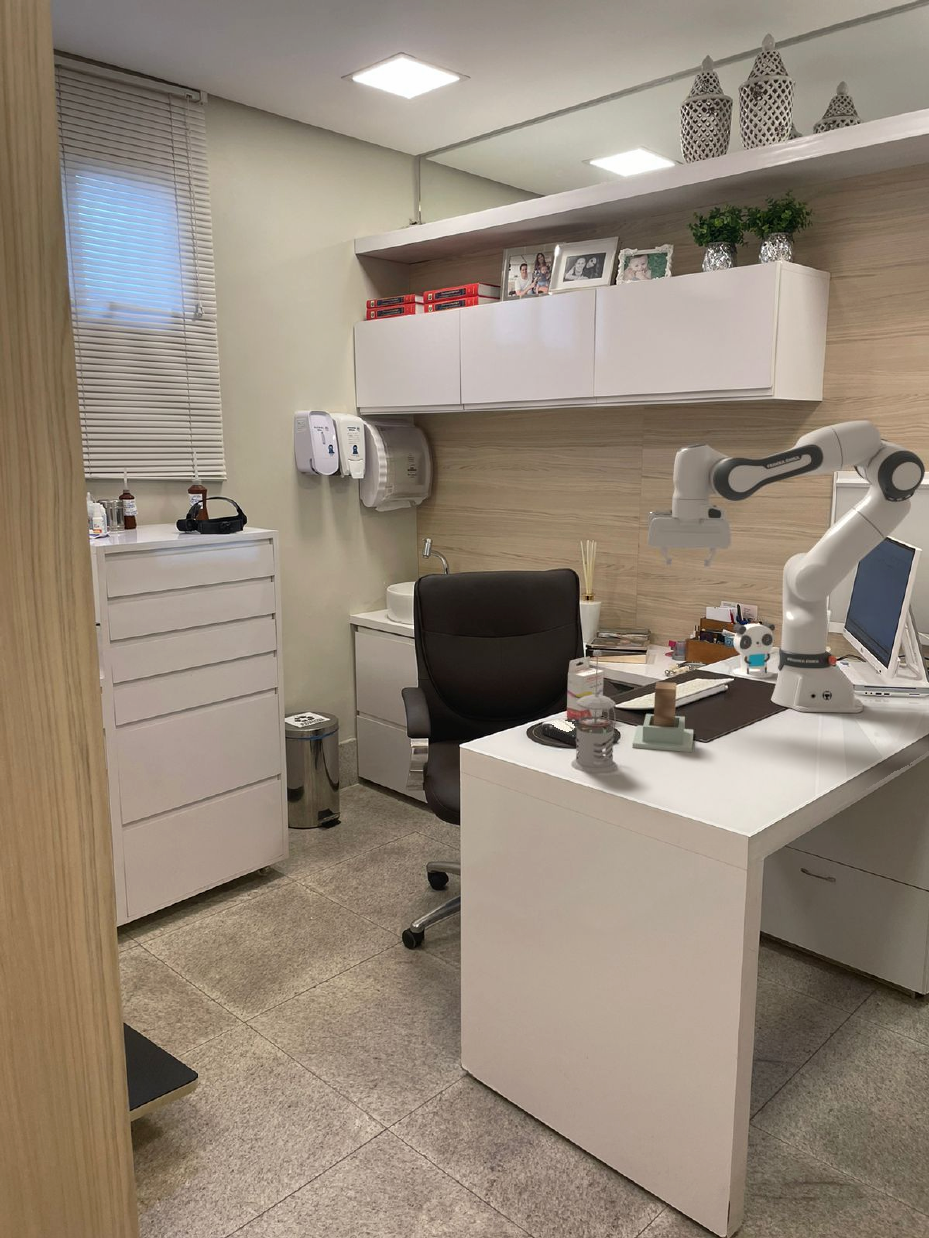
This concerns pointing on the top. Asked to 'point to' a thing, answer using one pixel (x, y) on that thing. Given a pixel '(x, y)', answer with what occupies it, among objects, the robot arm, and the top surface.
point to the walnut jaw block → (665, 704)
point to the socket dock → (663, 736)
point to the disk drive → (568, 736)
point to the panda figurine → (753, 649)
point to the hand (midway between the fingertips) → (687, 566)
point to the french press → (595, 734)
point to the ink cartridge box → (582, 687)
